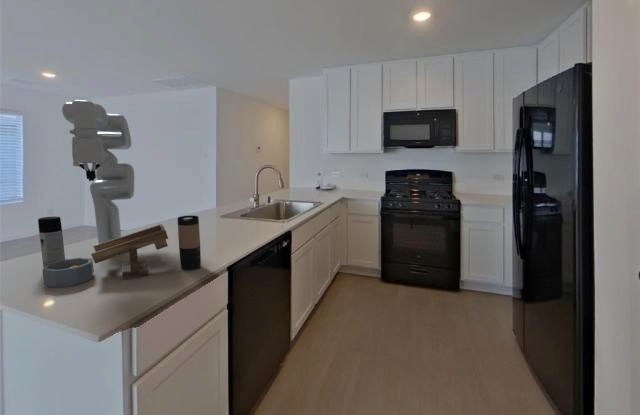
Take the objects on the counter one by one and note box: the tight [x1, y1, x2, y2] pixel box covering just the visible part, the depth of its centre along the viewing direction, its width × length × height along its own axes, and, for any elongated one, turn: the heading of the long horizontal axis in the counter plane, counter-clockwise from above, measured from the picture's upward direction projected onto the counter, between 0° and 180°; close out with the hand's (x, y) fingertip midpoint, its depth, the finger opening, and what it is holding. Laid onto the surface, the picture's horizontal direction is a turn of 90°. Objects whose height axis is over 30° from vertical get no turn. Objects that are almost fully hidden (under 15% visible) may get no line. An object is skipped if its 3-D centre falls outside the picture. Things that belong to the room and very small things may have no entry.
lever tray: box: [90, 223, 169, 264], centre depth 125 cm, size 20×24×7 cm
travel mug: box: [177, 215, 202, 271], centre depth 125 cm, size 8×8×20 cm
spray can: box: [37, 216, 66, 268], centre depth 122 cm, size 7×7×20 cm
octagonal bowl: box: [42, 257, 95, 289], centre depth 112 cm, size 13×13×6 cm
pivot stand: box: [121, 248, 149, 281], centre depth 122 cm, size 18×8×10 cm, turn 31°
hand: (91, 180), depth 129 cm, fingers closed
